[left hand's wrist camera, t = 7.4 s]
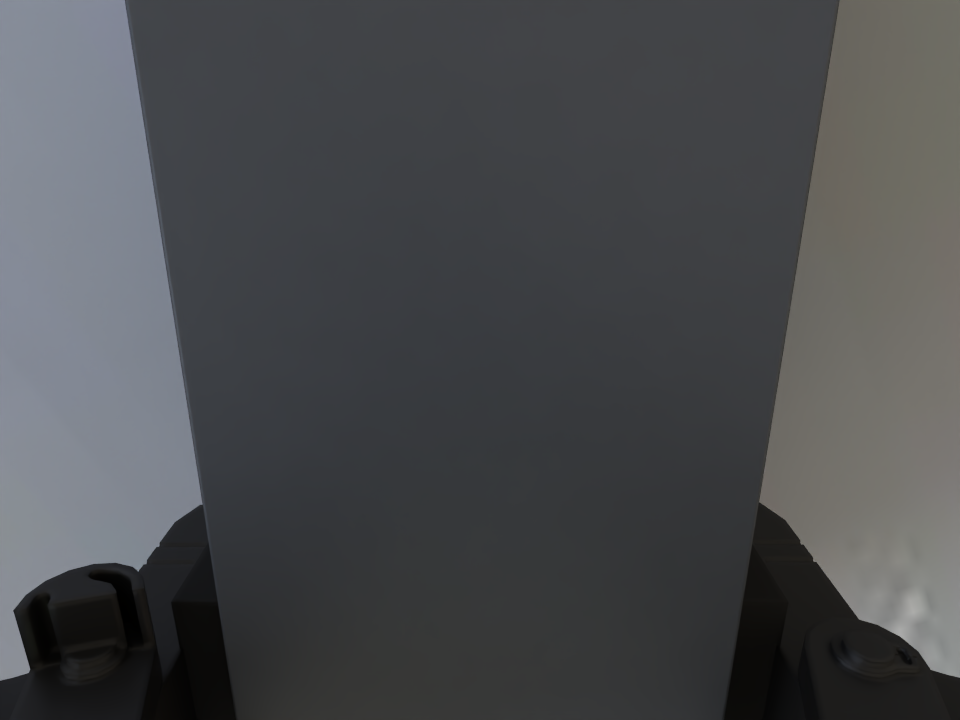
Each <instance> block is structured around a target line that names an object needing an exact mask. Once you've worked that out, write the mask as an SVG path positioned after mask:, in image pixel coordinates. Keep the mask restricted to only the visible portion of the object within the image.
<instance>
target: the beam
mask: <svg viewBox="0 0 960 720" xmlns="http://www.w3.org/2000/svg"><path fill="white" fill-rule="evenodd" d="M125 4H126V10H127V17H128V23H129V29H130V36H131V42H132V49H133V55H134V62H135V68H136V75H137V81H138V88H139V94H140V101H141V107H142V114H143V120H144V127H145V133H146V140H147V146H148V153H149V159H150V166H151V172H152V179H153V185H154V192H155V198H156V204H157V211H158V217H159V224H160V230H161V237H162V243H163V250H164V256H165V263H166V269H167V276H168V282H169V289H170V295H171V302H172V308H173V315H174V321H175V328H176V334H177V341H178V347H179V354H180V360H181V367H182V373H183V380H184V386H185V392H186V399H187V405H188V412H189V418H190V425H191V431H192V438H193V444H194V451H195V457H196V464H197V470H198V477H199V483H200V490H201V496H202V503H203V509H204V516H205V522H206V529H207V535H208V542H209V548H210V555H211V561H212V568H213V574H214V580H215V587H216V593H217V600H218V606H219V613H220V619H221V626H222V632H223V639H224V645H225V652H226V658H227V665H228V671H229V678H230V684H231V691H232V697H233V704H234V710H235V717H236V720H724V716H725V710H726V704H727V697H728V691H729V685H730V679H731V672H732V666H733V660H734V654H735V648H736V641H737V635H738V629H739V623H740V616H741V610H742V604H743V598H744V592H745V585H746V579H747V573H748V567H749V560H750V554H751V548H752V542H753V535H754V529H755V523H756V517H757V511H758V504H759V498H760V492H761V486H762V479H763V473H764V467H765V461H766V455H767V448H768V442H769V436H770V430H771V423H772V417H773V411H774V405H775V398H776V392H777V386H778V380H779V374H780V367H781V361H782V355H783V349H784V342H785V336H786V330H787V324H788V318H789V311H790V305H791V299H792V293H793V286H794V280H795V274H796V268H797V262H798V255H799V249H800V243H801V237H802V230H803V224H804V218H805V212H806V205H807V199H808V193H809V187H810V181H811V174H812V168H813V162H814V156H815V149H816V143H817V137H818V131H819V125H820V118H821V112H822V106H823V100H824V93H825V87H826V81H827V75H828V68H829V62H830V56H831V50H832V44H833V37H834V31H835V25H836V19H837V12H838V6H839V0H125Z"/></svg>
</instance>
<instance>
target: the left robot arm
mask: <svg viewBox="0 0 960 720" xmlns="http://www.w3.org/2000/svg"><path fill="white" fill-rule="evenodd" d="M14 614H15V617H16V621H17V624H18V628H19V631H20V635H21V638H22V642H23V645H24V649H25V652H26V656H27V659H28V662H29V666H30V671H29V673H28V674H24V675H21V676H18V677H14V678H10V679H6V680H2V681H0V720H236V717H235V710H234V704H233V697H232V691H231V684H230V678H229V671H228V665H227V658H226V652H225V645H224V639H223V632H222V626H221V619H220V613H219V606H218V600H217V593H216V587H215V580H214V574H213V568H212V561H211V555H210V548H209V542H208V535H207V529H206V522H205V516H204V509H203V505H199V506H198V507H196V508H195V509H194V510H192V511H191V512H189V513H188V514H186V515H185V516H183V517H182V518H181V519H179V520H178V521H176V522H175V523H174V524H173V526H172V527H171V528H170V530H169V531H168V532H167V534H166V535H165V536H164V538H163V539H162V541H161V542H160V546H159V547H156V549H155V550H154V551H153V553H152V554H151V555H150V557H149V558H148V560H147V564H144V565H143V566H142V568H141V569H140V570H139V572H138V571H137V570H136V569H134V568H133V567H131V566H126V565H122V564H118V563H106V564H92V565H88V566H84V567H81V568H77V569H73V570H69V571H67V572H65V573H62V574H60V575H58V576H56V577H54V578H51V579H49V580H47V581H45V582H44V583H42V584H41V585H39V586H38V587H37V588H35V589H34V590H32V591H31V592H30V593H28V594H27V595H26V596H25V597H24V598H23V599H22V601H21V602H20V603H19V604H18V606H17V607H16V608H15V609H14ZM724 720H960V678H958V677H954V676H949V675H946V674H942V673H939V672H935V671H932V670H930V668H929V667H928V665H927V664H926V662H925V661H924V659H923V658H922V656H921V655H920V653H919V652H918V651H917V650H916V649H914V648H913V647H912V646H911V645H909V644H908V643H907V642H906V641H905V640H903V639H902V638H901V637H900V636H898V635H896V634H894V633H892V632H890V631H888V630H886V629H884V628H882V627H880V626H878V625H875V624H872V623H868V622H865V621H861V620H859V619H858V618H857V616H856V615H855V614H854V612H853V611H852V610H851V608H850V607H849V605H848V604H847V603H846V601H845V600H844V599H843V597H842V596H841V595H840V593H839V592H838V591H837V589H836V588H835V587H834V585H833V584H832V583H831V581H830V580H829V579H828V577H827V576H826V575H825V573H824V572H823V571H822V569H821V568H820V566H819V565H818V564H817V562H813V557H812V556H811V554H810V553H809V552H808V550H807V549H806V548H805V546H804V545H801V544H800V540H799V538H798V537H797V536H796V534H795V533H794V531H793V530H792V529H791V527H790V526H789V525H788V523H787V522H786V521H785V520H784V519H783V518H781V517H780V516H778V515H777V514H775V513H774V512H773V511H771V510H770V509H768V508H767V507H765V506H764V505H762V504H761V503H759V504H758V511H757V517H756V523H755V529H754V535H753V542H752V548H751V554H750V560H749V567H748V573H747V579H746V585H745V592H744V598H743V604H742V610H741V616H740V623H739V629H738V635H737V641H736V648H735V654H734V660H733V666H732V672H731V679H730V685H729V691H728V697H727V704H726V710H725V716H724Z"/></svg>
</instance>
